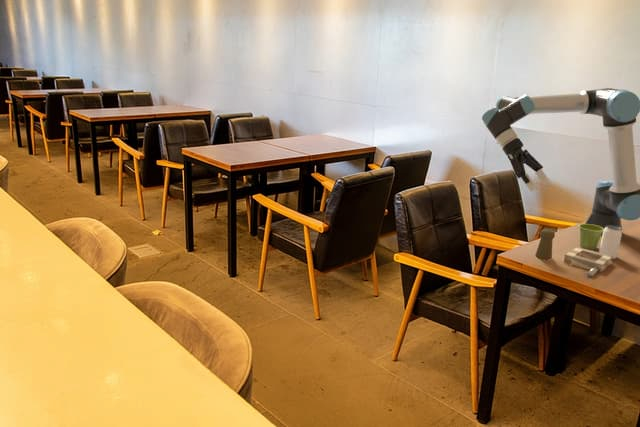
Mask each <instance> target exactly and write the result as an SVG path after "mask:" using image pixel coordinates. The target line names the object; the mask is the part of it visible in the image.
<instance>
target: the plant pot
mask: <svg viewBox="0 0 640 427" xmlns="http://www.w3.org/2000/svg"><path fill="white" fill-rule="evenodd" d="M578 228H579V231H580V234H579V235H580V236H579V247H580V248H583V249H587V250H591V251H594V250H596V249H597V248H598V246H599V245H598V244H599V242H600V239H601V238H602V235H601V234H602V233H603V230H604V228H603V227H600V226H597V225H592V224H585V223H582V224H581V223H580V224H579V225H578Z"/></svg>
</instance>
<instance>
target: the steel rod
mask: <svg viewBox="0 0 640 427" xmlns="http://www.w3.org/2000/svg"><path fill="white" fill-rule="evenodd" d="M598 271H599V267H597V266H595V267H593V268H592V269H591V270H589V269H588V271H587V272H586V277H587V278H591V277H593V276H594V275H595V274H597V273H599V272H598Z"/></svg>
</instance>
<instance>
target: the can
mask: <svg viewBox="0 0 640 427" xmlns="http://www.w3.org/2000/svg"><path fill="white" fill-rule="evenodd" d="M621 230H622V231H621ZM622 236H623V228H622V229H621V228H620V227H617V226H612V225H607V226H606V227H605V229H604V230H603V235H601V241H600V245H599V249H598V253H602V254H606V255H609V256H613V257H612V260H615V259H617V258H618V253H619V249H620V245H621V244H620V243H621V240H622Z"/></svg>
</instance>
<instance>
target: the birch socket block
mask: <svg viewBox="0 0 640 427" xmlns="http://www.w3.org/2000/svg"><path fill="white" fill-rule="evenodd" d="M612 257H613V256H609V255H606V254H602V253H599V251H594V250H590V249H587V248H582V247H580V246H576V247H575V248H573V249H572V250H570V251H569V252H567V253H566V254H564V258H563V263H566V264H569V265H571V266H572V265H573V266H576V267H580V268H581V269H582V268H583V269H587V270H588V271H589V270H591V269H592V268H593V267H595V266H597V267H599V271H598V272H597V273H601V272H603V271H604V270H605V269H606V268H608V267H609V266H610V265H611V264H612V261H613V259H612Z"/></svg>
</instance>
